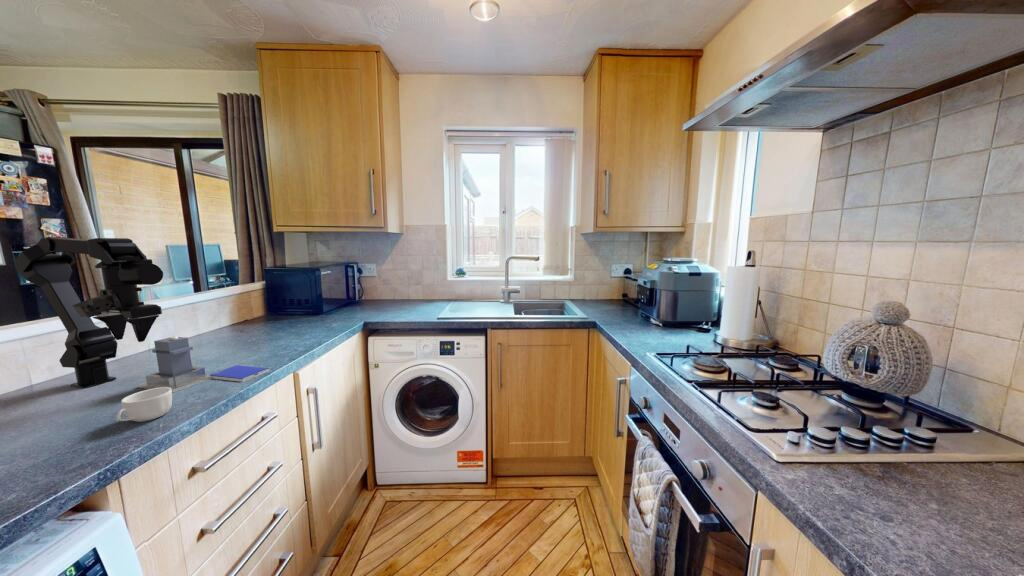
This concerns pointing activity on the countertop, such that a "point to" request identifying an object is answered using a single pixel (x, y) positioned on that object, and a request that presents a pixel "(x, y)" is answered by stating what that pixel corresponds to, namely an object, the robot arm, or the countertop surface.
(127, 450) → the countertop surface
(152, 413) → the teacup
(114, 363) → the countertop surface
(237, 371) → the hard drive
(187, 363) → the block
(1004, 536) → the countertop surface
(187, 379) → the chassis
